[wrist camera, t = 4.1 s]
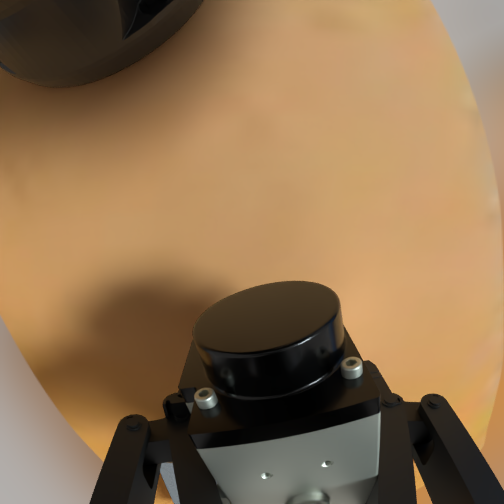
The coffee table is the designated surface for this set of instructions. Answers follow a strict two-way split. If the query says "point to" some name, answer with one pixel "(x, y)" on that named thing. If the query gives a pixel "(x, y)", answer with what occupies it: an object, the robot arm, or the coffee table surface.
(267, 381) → the pneumatic valve
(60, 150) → the coffee table surface
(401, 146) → the coffee table surface
